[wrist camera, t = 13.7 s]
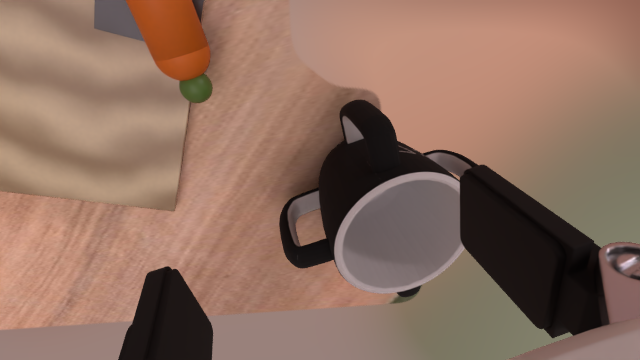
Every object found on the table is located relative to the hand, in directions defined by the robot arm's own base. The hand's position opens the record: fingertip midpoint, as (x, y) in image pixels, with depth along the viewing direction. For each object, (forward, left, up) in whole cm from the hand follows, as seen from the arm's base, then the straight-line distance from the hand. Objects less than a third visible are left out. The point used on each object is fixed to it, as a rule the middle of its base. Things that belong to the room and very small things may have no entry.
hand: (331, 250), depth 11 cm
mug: (+7, +12, -24) cm, 27 cm away
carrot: (-5, -9, -22) cm, 24 cm away
